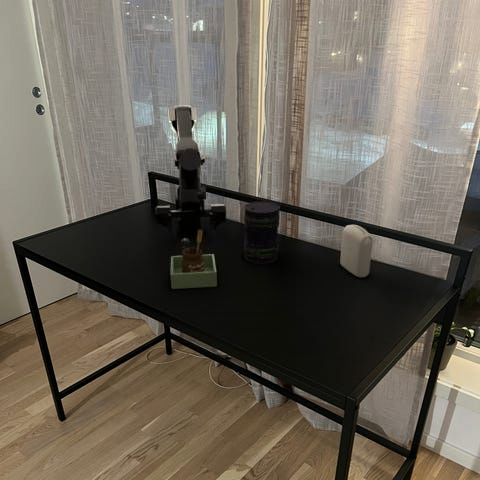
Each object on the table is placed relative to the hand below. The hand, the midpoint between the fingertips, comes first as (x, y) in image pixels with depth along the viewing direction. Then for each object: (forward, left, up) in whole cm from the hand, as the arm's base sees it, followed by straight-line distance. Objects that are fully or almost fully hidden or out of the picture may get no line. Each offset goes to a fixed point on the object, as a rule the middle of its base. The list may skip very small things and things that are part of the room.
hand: (192, 243), depth 136 cm
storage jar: (-21, -2, -9) cm, 23 cm away
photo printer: (-40, +17, -9) cm, 45 cm away
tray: (+1, +3, -8) cm, 9 cm away
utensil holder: (+1, +3, -8) cm, 9 cm away
